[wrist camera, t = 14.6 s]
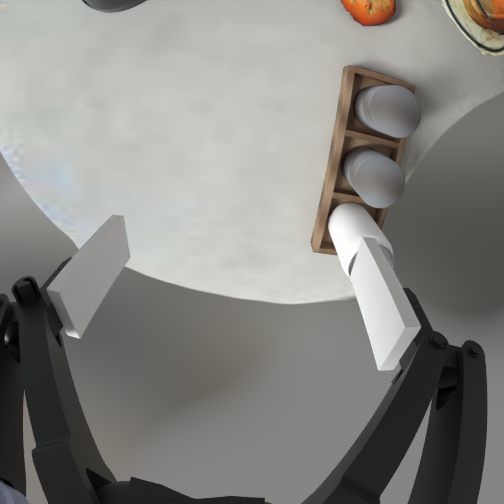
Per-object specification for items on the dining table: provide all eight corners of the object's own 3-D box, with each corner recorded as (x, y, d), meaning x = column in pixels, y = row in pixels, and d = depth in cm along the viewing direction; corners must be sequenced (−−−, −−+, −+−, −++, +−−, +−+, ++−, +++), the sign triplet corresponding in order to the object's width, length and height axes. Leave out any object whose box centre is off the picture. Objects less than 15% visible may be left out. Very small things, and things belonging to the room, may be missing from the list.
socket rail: (343, 67, 30) (364, 59, 22) (405, 86, 30) (438, 86, 22) (310, 242, 44) (318, 276, 36) (365, 250, 44) (382, 283, 36)
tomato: (353, -36, 20) (393, -24, 17) (376, -7, 25) (412, 9, 22) (320, -5, 25) (357, 9, 22) (346, 22, 29) (381, 40, 26)
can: (366, 197, 38) (397, 236, 28) (370, 236, 41) (396, 283, 31) (323, 205, 39) (342, 247, 29) (330, 244, 43) (346, 294, 32)
